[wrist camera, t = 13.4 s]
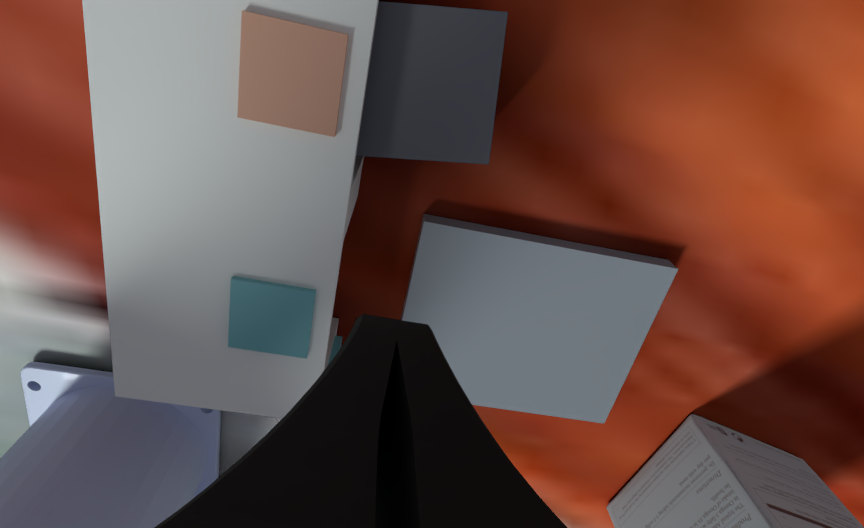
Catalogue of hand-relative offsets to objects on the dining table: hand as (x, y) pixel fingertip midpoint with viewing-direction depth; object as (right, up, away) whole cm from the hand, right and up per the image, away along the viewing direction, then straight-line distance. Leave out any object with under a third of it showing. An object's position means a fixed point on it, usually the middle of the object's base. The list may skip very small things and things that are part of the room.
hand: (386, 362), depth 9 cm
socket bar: (-5, +6, +8) cm, 11 cm away
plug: (-1, +8, +7) cm, 11 cm away
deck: (+5, -1, +12) cm, 12 cm away
